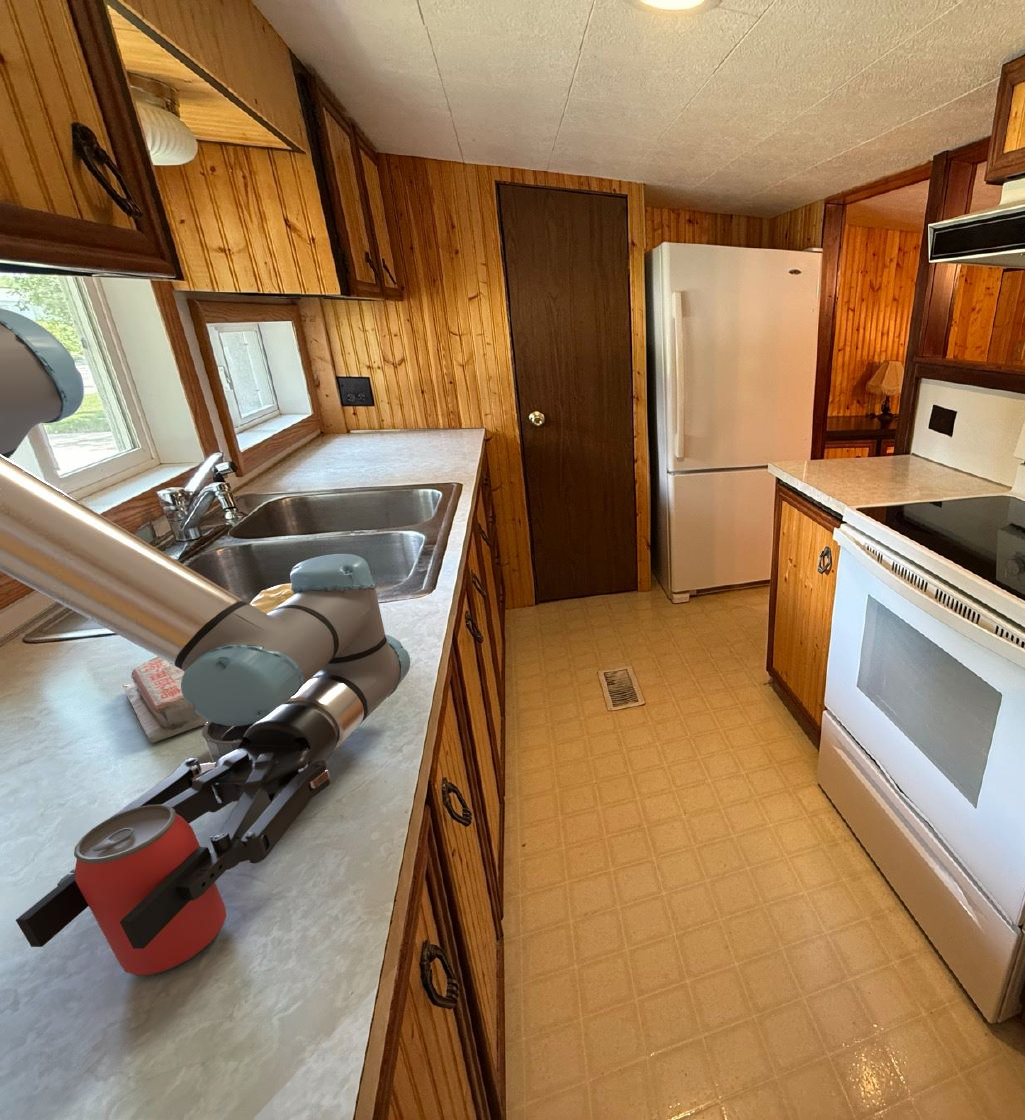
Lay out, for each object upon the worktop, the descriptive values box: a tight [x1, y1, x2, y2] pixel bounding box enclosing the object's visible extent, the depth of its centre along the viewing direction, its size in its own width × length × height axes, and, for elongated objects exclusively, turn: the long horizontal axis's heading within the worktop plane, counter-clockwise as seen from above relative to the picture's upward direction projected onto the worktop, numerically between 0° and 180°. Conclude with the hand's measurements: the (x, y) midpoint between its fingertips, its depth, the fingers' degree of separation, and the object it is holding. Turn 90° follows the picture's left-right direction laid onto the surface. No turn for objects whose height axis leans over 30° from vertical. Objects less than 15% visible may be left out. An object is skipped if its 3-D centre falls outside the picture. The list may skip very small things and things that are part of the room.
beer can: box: [73, 804, 227, 976], centre depth 48 cm, size 7×7×12 cm
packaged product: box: [122, 656, 209, 744], centre depth 81 cm, size 18×5×10 cm
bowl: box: [201, 721, 256, 763], centre depth 73 cm, size 11×11×4 cm
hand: (80, 934), depth 43 cm, fingers closed on beer can, 7 cm apart
